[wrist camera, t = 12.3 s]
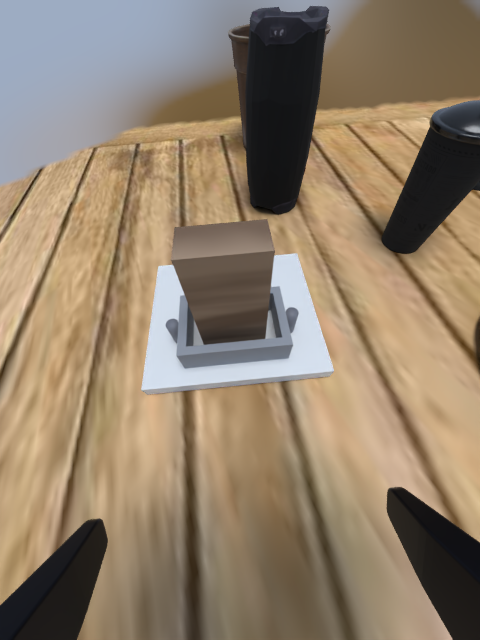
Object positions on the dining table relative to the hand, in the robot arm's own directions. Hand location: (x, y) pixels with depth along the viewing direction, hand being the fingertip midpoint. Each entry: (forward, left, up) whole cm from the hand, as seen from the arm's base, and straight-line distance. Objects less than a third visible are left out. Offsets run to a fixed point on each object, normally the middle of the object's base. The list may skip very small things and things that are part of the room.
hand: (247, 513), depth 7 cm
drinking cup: (+35, -8, -14) cm, 38 cm away
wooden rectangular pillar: (+11, +7, -12) cm, 18 cm away
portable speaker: (+38, +12, -14) cm, 42 cm away
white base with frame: (+14, +8, -13) cm, 21 cm away
